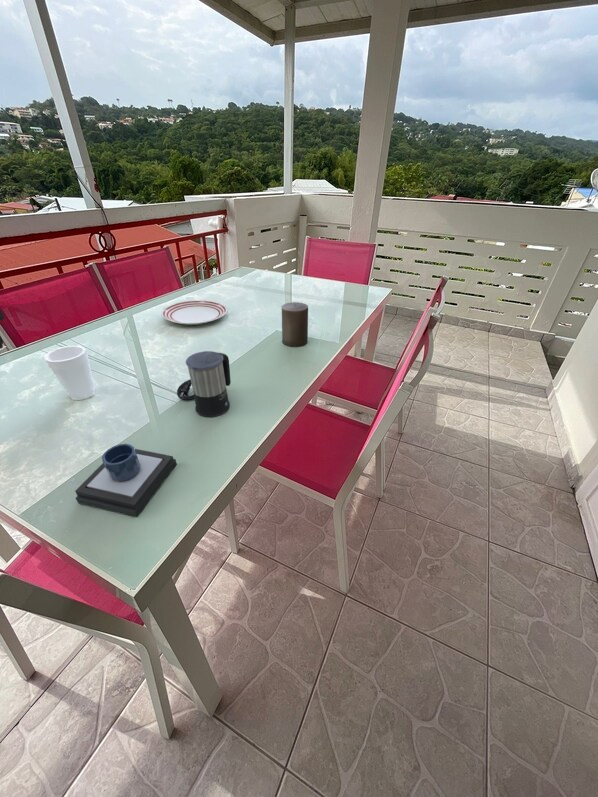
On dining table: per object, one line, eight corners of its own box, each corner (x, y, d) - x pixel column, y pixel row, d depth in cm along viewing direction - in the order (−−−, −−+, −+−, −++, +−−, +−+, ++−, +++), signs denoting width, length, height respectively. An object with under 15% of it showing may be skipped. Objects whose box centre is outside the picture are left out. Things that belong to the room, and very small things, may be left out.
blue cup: (129, 485, 63) (121, 467, 61) (103, 479, 64) (95, 461, 62) (147, 464, 68) (140, 446, 65) (123, 459, 69) (115, 441, 66)
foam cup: (56, 398, 92) (35, 357, 85) (85, 382, 99) (68, 343, 92) (80, 406, 89) (61, 364, 82) (108, 389, 97) (93, 349, 89)
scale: (137, 517, 61) (132, 507, 60) (78, 503, 64) (72, 493, 62) (177, 464, 72) (174, 454, 71) (125, 453, 75) (121, 444, 73)
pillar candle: (308, 347, 121) (309, 307, 113) (282, 347, 121) (281, 307, 112) (306, 336, 129) (307, 298, 121) (281, 336, 129) (280, 298, 120)
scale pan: (134, 500, 62) (132, 496, 61) (89, 490, 64) (86, 485, 63) (164, 463, 70) (162, 458, 69) (123, 455, 72) (121, 450, 71)
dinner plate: (238, 310, 152) (237, 303, 150) (207, 333, 130) (206, 325, 128) (186, 303, 159) (185, 297, 157) (149, 324, 137) (147, 316, 135)
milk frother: (226, 418, 86) (219, 368, 78) (166, 417, 86) (152, 367, 78) (235, 388, 98) (230, 342, 89) (182, 387, 98) (172, 341, 89)
